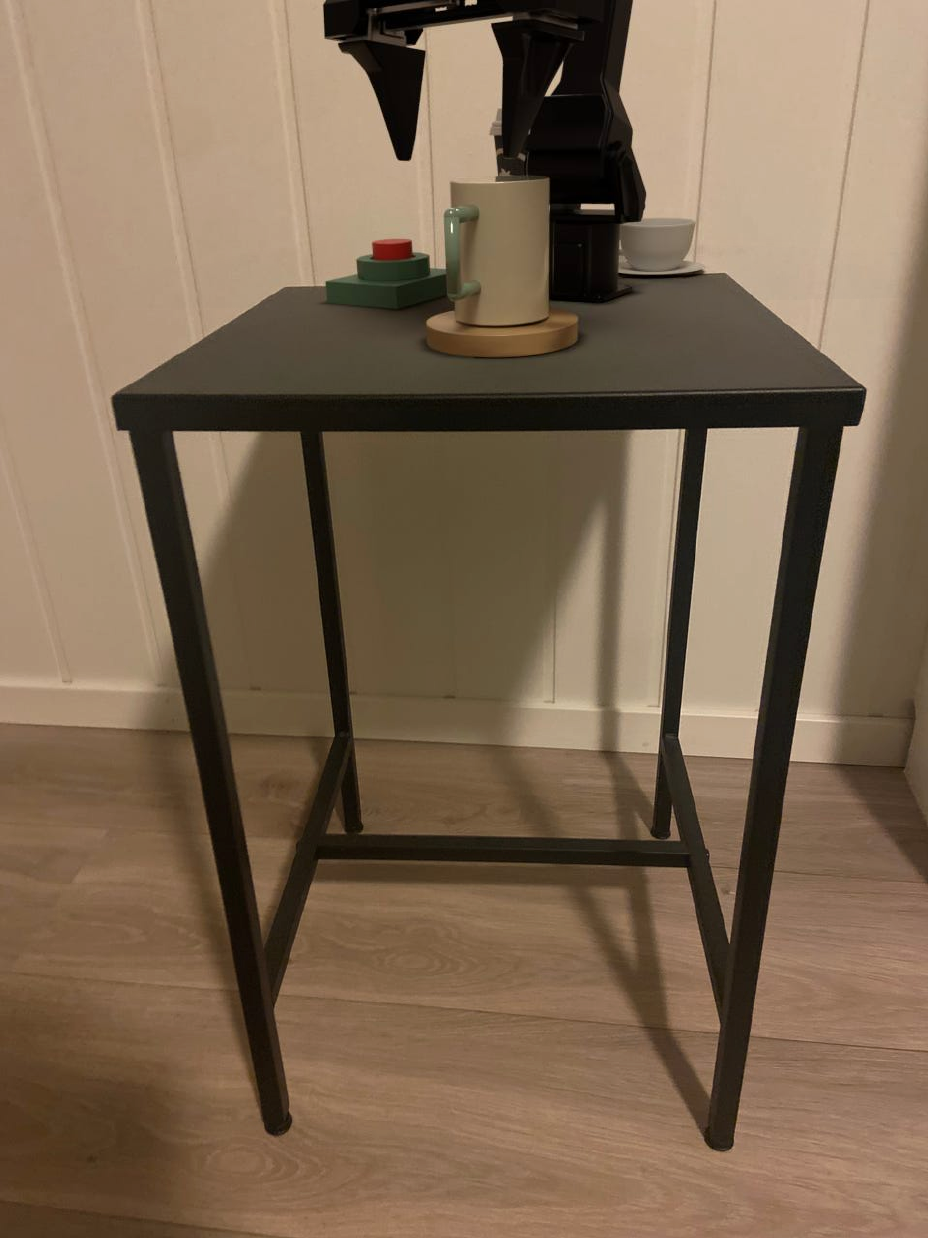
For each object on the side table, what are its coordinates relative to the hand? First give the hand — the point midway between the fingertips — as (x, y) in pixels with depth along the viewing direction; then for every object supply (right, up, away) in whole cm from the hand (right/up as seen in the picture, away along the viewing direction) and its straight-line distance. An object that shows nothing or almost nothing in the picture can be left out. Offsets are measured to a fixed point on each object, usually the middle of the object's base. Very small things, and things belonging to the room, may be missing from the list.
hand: (454, 159), depth 62 cm
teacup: (+20, +4, +32) cm, 38 cm away
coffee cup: (+8, +3, +30) cm, 31 cm away
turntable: (+3, -10, +6) cm, 12 cm away
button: (-6, +2, +23) cm, 24 cm away
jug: (+3, -9, +5) cm, 11 cm away
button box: (-6, -1, +24) cm, 25 cm away
